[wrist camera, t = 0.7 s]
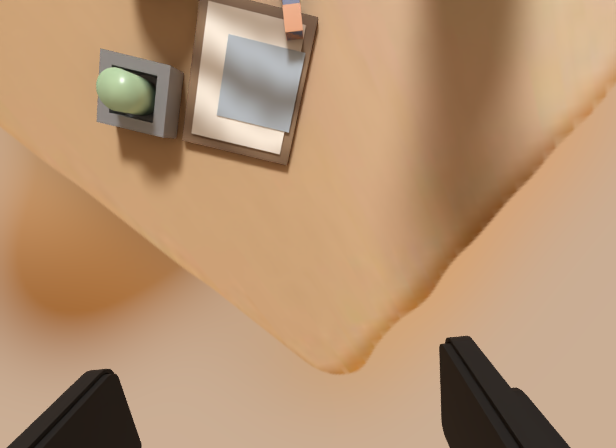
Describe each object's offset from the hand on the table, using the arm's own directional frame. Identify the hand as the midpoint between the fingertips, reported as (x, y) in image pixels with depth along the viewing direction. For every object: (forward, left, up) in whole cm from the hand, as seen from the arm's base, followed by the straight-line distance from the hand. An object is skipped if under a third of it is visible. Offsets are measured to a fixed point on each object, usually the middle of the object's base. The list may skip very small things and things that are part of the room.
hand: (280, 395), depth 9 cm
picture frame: (-12, -10, -28) cm, 32 cm away
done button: (-8, -20, -26) cm, 34 cm away
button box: (-8, -20, -28) cm, 35 cm away
